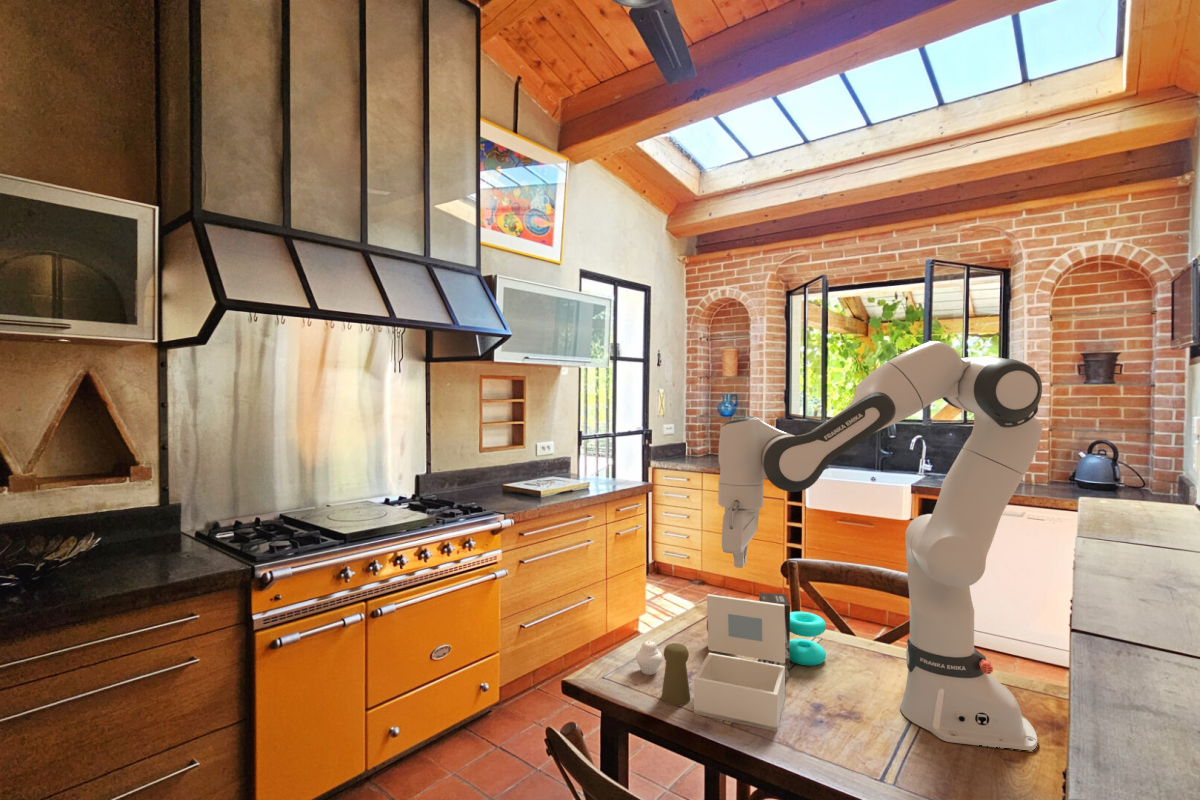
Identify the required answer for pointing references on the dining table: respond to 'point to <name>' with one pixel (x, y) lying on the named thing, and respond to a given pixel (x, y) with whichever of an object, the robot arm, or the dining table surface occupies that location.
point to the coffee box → (783, 600)
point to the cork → (676, 675)
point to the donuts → (803, 648)
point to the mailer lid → (746, 627)
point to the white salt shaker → (649, 658)
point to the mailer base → (740, 691)
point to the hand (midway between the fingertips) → (740, 565)
